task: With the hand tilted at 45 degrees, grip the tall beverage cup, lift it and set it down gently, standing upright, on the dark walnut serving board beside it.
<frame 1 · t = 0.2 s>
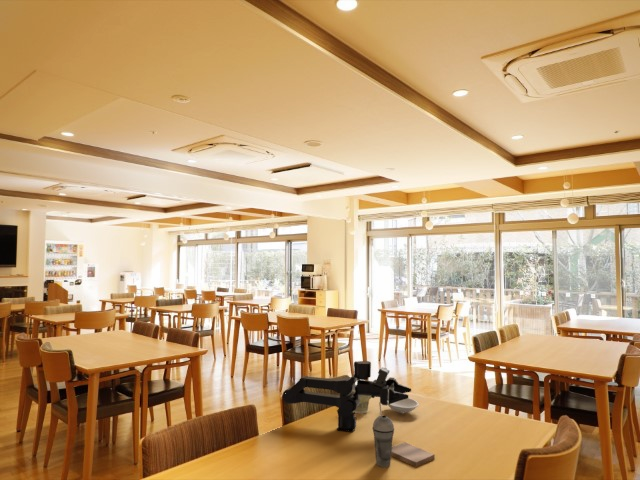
hand: (409, 393, 167), 17 cm above the table, tool horizontal, fingers open, 9 cm apart
ceramic cup: (362, 411, 196), on the table
dish: (401, 413, 194), on the table
walnut board: (410, 456, 149), on the table
beverage cup: (383, 464, 143), on the table
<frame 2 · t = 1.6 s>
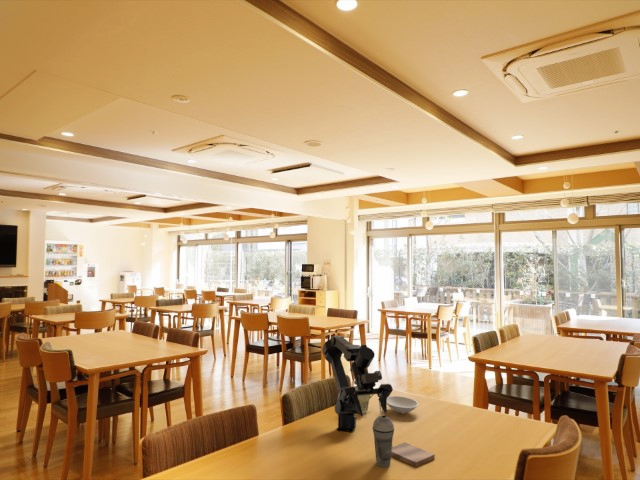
hand: (373, 414, 151), 14 cm above the table, tool tilted 45°, fingers open, 9 cm apart
nothing on the table moved.
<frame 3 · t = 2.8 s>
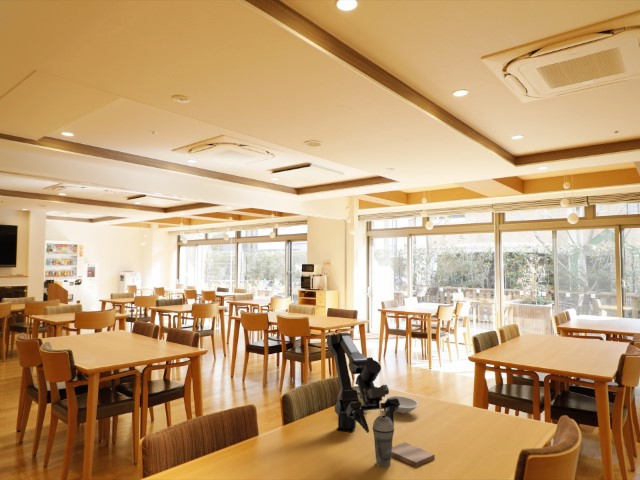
hand: (380, 430, 145), 10 cm above the table, tool tilted 45°, fingers open, 9 cm apart
nothing on the table moved.
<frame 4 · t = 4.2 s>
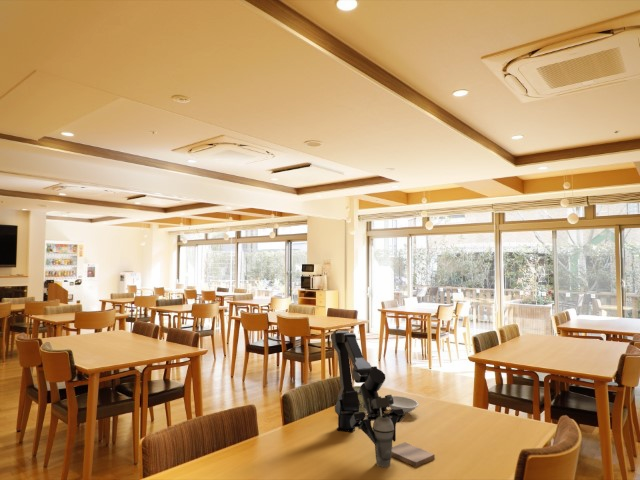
hand: (385, 442, 142), 8 cm above the table, tool tilted 45°, fingers closed on beverage cup, 7 cm apart
beverage cup: (383, 464, 143), on the table, touching gripper
everything else where it was.
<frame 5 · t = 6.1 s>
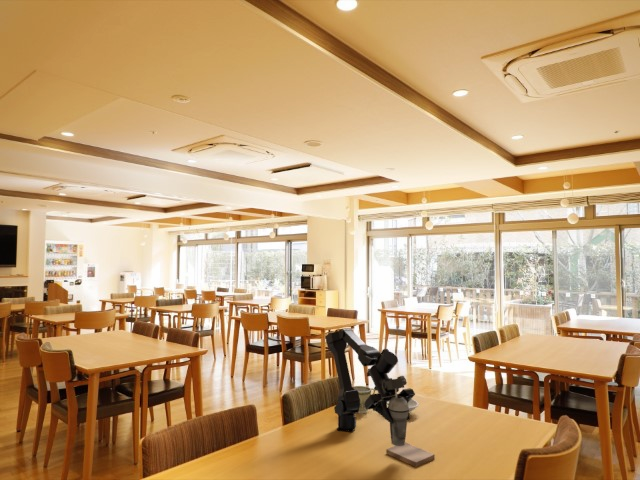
hand: (400, 421, 145), 13 cm above the table, tool tilted 45°, fingers closed on beverage cup, 7 cm apart
beverage cup: (398, 443, 146), point 5 cm above the table, touching gripper
everything else where it was.
when the fingers open (10 cm above the table, at t = 8.0 s): beverage cup stays where it is, resting on walnut board.
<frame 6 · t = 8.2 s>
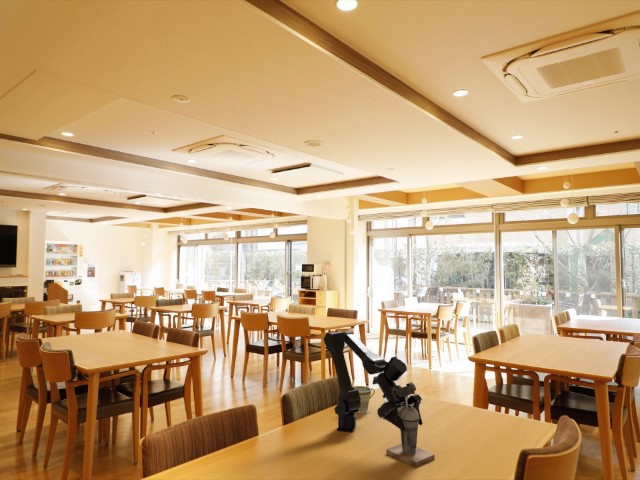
hand: (413, 427, 149), 10 cm above the table, tool tilted 45°, fingers open, 9 cm apart
beverage cup: (409, 452, 149), point 1 cm above the table, touching walnut board
everything else where it was.
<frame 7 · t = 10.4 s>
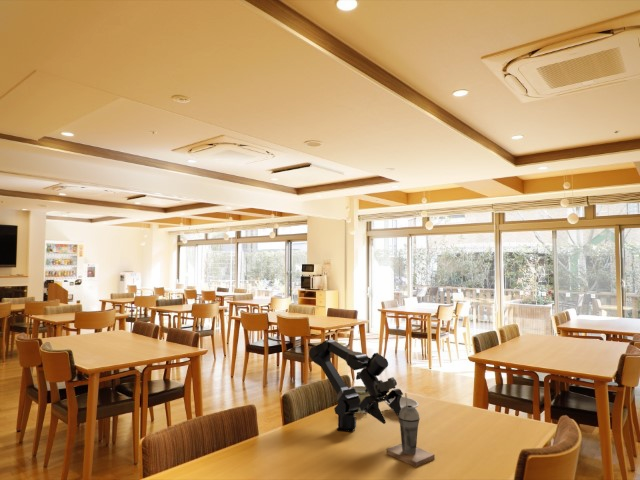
hand: (393, 420, 156), 10 cm above the table, tool tilted 45°, fingers open, 9 cm apart
nothing on the table moved.
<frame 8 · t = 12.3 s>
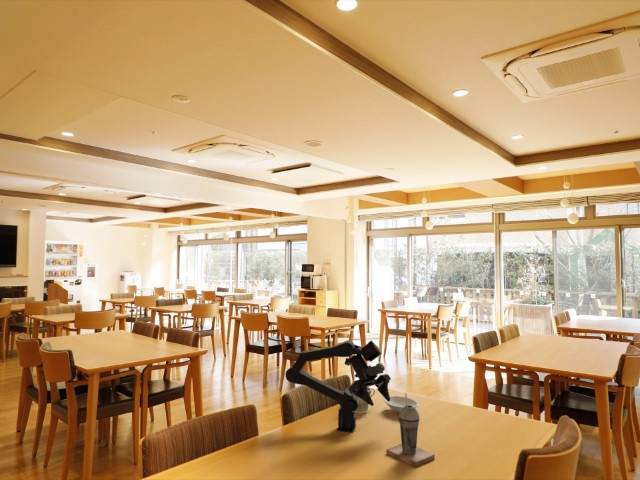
hand: (381, 403, 164), 14 cm above the table, tool tilted 45°, fingers open, 9 cm apart
nothing on the table moved.
at the end: beverage cup inside the target area on the walnut board (0.4 cm from its centre), point 1.3 cm above the walnut board's base; beverage cup tilted 0°; the gripper is holding nothing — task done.
